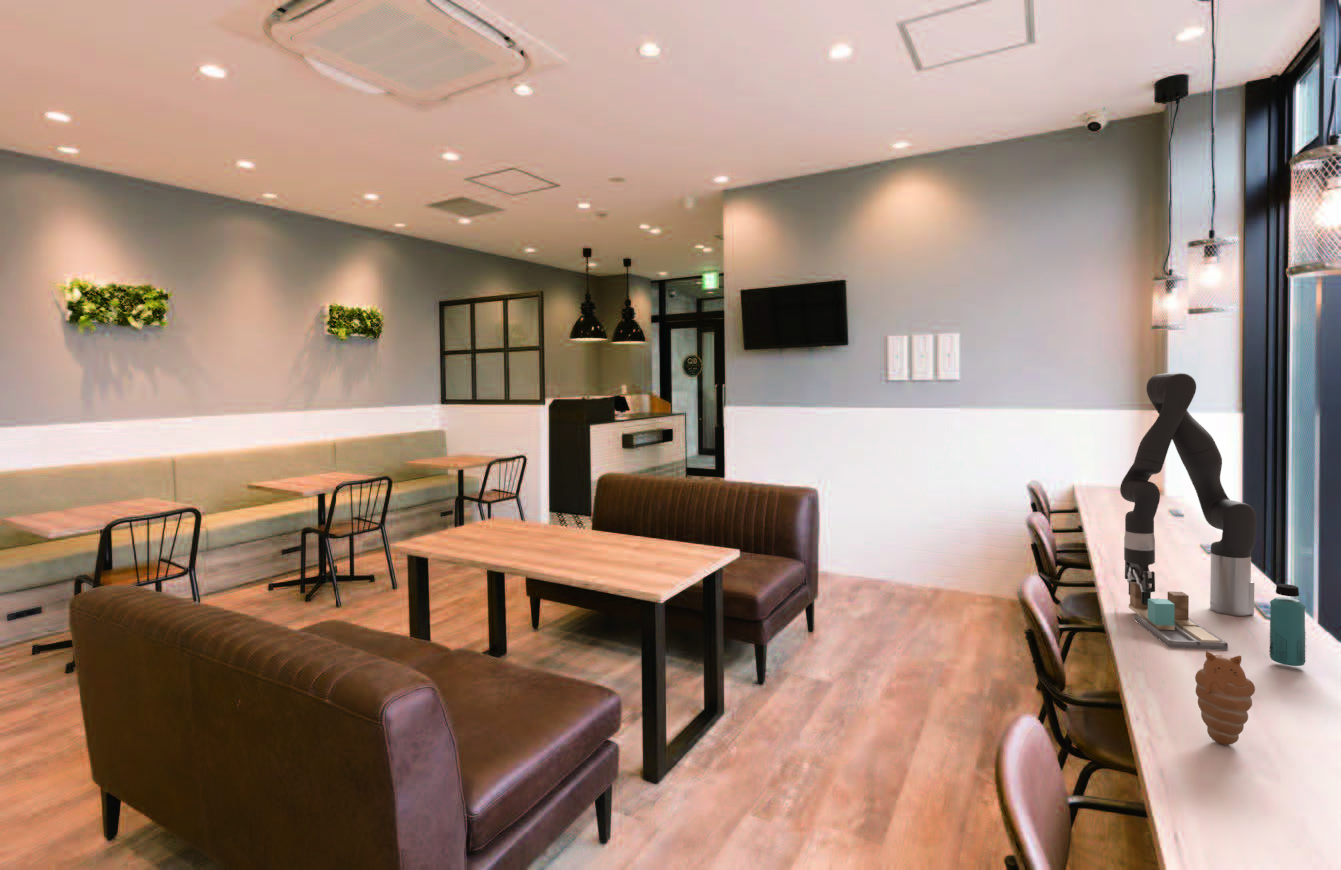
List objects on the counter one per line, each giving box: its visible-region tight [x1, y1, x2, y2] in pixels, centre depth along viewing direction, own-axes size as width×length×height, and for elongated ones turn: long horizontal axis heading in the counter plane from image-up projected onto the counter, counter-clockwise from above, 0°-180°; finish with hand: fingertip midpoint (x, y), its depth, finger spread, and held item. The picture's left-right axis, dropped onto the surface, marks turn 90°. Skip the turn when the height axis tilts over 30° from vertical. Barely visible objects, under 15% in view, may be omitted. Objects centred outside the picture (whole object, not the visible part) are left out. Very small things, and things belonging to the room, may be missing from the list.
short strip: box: [1167, 591, 1197, 628], centre depth 188 cm, size 4×8×8 cm, turn 166°
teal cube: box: [1148, 598, 1175, 626], centre depth 186 cm, size 5×5×6 cm
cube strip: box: [1128, 582, 1175, 630], centre depth 193 cm, size 4×19×8 cm, turn 166°
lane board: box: [1134, 613, 1229, 651], centre depth 183 cm, size 13×21×2 cm, turn 166°
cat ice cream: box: [1194, 650, 1256, 746], centre depth 128 cm, size 9×8×18 cm
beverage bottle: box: [1268, 583, 1307, 667], centre depth 160 cm, size 6×7×20 cm
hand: (1139, 599), depth 200 cm, fingers open, 8 cm apart
